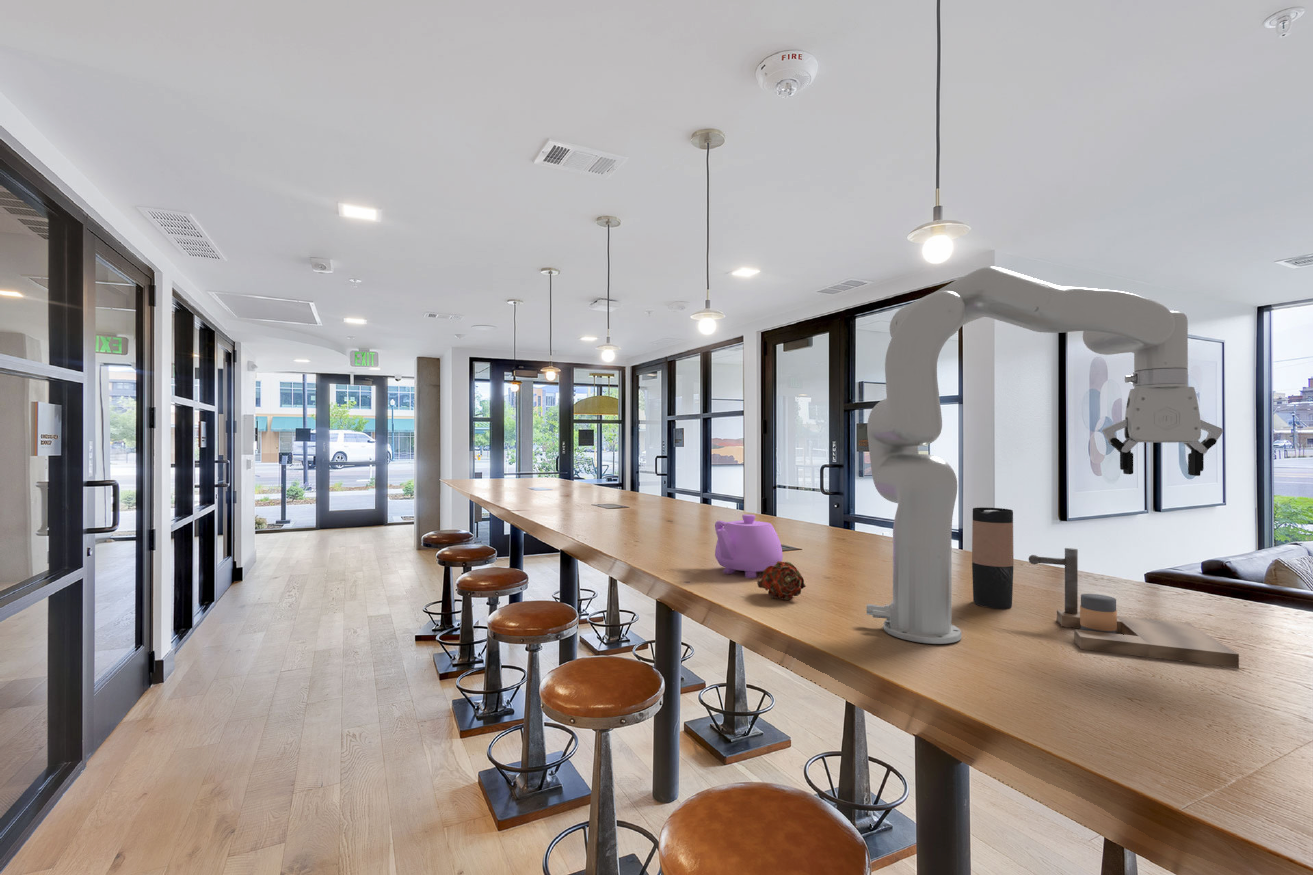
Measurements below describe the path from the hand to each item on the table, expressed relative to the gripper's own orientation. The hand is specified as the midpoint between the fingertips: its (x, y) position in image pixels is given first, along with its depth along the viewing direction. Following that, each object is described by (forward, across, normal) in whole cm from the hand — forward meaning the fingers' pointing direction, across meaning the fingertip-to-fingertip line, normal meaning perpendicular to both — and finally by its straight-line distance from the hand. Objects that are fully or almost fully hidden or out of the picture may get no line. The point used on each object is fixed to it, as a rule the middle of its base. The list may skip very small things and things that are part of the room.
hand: (1160, 474), depth 110 cm
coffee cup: (+28, -12, -9) cm, 32 cm away
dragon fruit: (+29, -68, -5) cm, 74 cm away
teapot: (+29, -83, +16) cm, 89 cm away
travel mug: (+28, -26, +8) cm, 39 cm away
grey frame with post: (+28, -8, -9) cm, 31 cm away
